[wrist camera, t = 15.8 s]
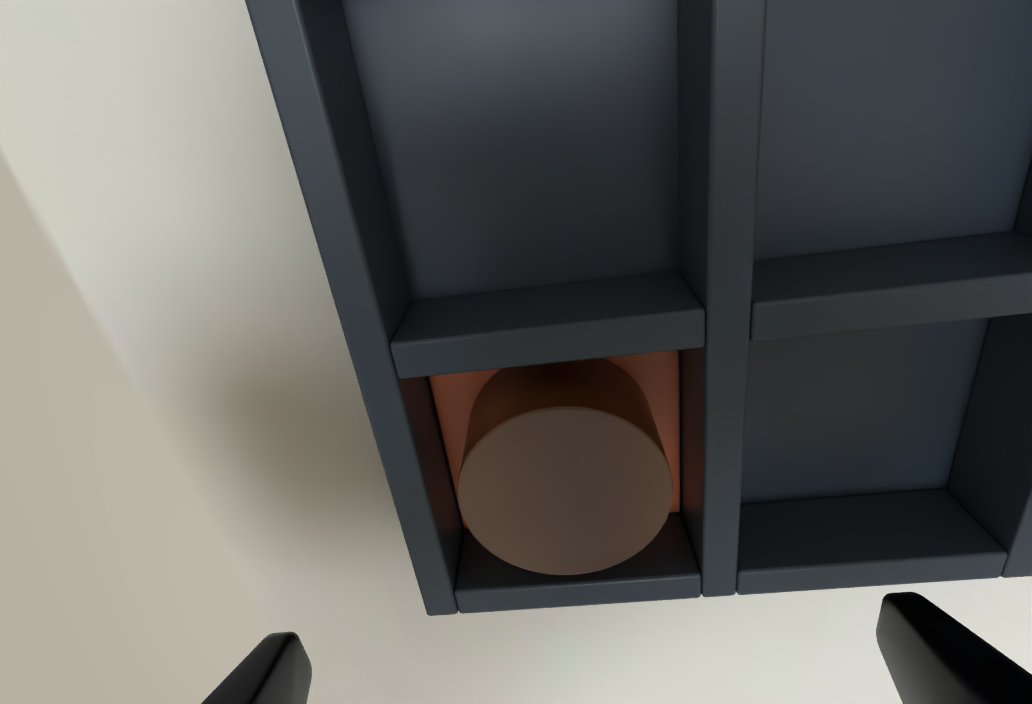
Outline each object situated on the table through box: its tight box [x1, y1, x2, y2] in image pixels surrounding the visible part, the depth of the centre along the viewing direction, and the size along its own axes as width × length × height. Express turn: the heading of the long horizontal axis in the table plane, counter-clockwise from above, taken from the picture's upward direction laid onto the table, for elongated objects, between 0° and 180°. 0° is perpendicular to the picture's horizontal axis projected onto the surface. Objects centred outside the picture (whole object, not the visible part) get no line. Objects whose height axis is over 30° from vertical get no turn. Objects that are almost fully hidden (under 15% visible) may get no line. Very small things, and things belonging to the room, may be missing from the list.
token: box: [457, 358, 674, 575], centre depth 13 cm, size 4×4×2 cm
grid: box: [245, 0, 1032, 616], centre depth 10 cm, size 21×21×3 cm
